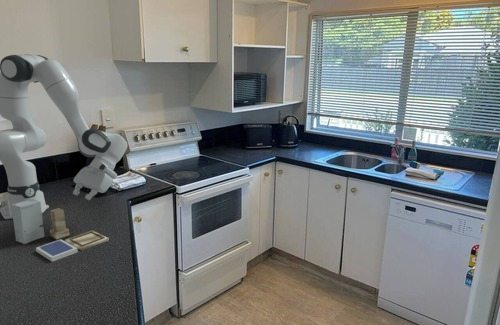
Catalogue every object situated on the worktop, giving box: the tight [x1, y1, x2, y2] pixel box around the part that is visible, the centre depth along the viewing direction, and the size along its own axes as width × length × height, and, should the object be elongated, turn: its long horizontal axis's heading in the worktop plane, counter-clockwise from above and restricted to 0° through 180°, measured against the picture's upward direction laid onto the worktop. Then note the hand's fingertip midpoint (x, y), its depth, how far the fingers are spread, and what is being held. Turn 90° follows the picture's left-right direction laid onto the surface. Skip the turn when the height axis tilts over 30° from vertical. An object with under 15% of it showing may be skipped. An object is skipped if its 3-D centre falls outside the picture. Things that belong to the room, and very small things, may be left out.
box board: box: [64, 230, 110, 251], centre depth 142 cm, size 12×11×1 cm
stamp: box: [49, 207, 71, 241], centre depth 145 cm, size 5×5×11 cm
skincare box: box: [11, 199, 45, 245], centre depth 142 cm, size 8×6×15 cm
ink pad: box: [35, 239, 79, 262], centre depth 133 cm, size 12×9×2 cm
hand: (80, 196), depth 151 cm, fingers open, 8 cm apart
